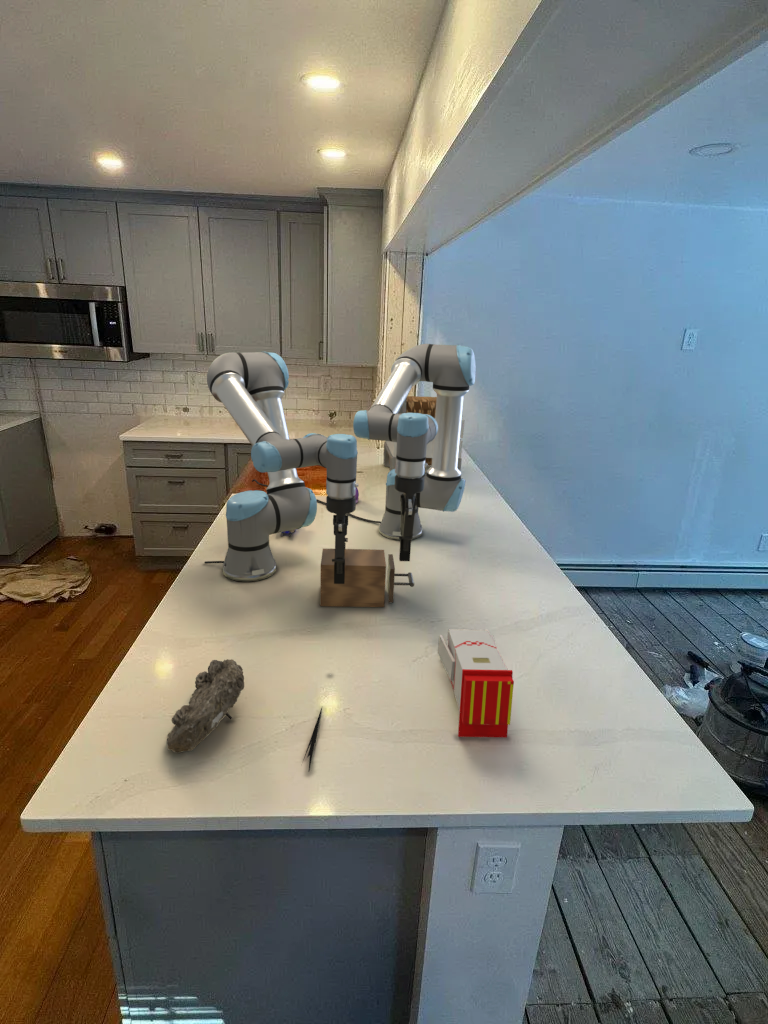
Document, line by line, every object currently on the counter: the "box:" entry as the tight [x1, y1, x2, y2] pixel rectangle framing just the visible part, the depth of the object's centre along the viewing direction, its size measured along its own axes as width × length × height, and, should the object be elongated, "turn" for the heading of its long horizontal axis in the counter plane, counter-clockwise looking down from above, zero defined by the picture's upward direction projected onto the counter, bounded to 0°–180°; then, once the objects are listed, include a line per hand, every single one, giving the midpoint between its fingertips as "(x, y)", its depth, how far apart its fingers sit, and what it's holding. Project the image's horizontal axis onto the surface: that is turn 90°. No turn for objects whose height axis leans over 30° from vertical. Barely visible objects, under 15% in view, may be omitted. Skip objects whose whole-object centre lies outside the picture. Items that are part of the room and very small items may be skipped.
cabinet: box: [319, 548, 387, 608], centre depth 153 cm, size 17×10×12 cm, turn 93°
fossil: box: [166, 658, 245, 754], centre depth 106 cm, size 22×10×15 cm
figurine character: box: [280, 529, 296, 538], centre depth 196 cm, size 7×8×15 cm
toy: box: [437, 628, 515, 738], centre depth 117 cm, size 12×13×30 cm
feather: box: [301, 673, 332, 771], centre depth 108 cm, size 2×28×2 cm
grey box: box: [383, 395, 465, 473], centre depth 268 cm, size 34×33×41 cm
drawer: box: [386, 553, 415, 604], centre depth 153 cm, size 21×9×10 cm, turn 93°
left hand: (339, 573), depth 152 cm, fingers closed on cabinet, 10 cm apart
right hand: (404, 560), depth 152 cm, fingers closed
